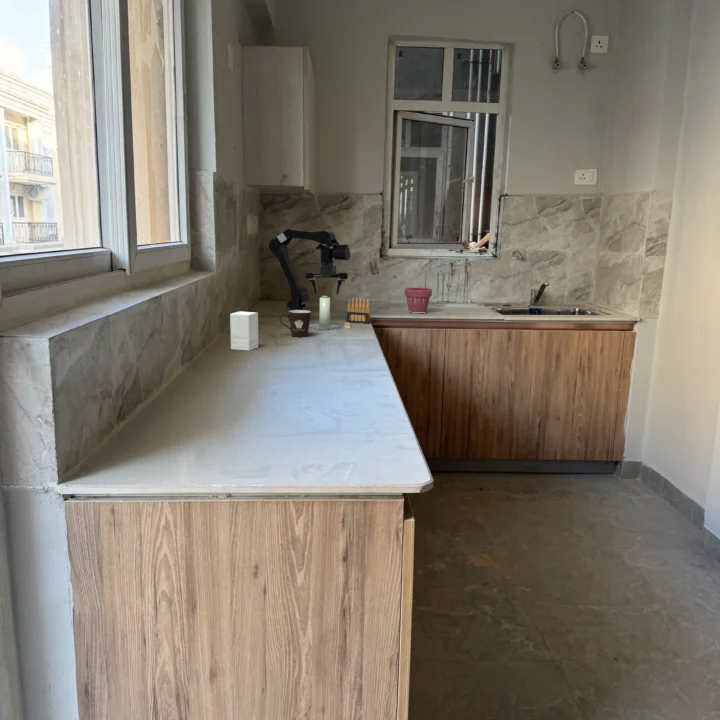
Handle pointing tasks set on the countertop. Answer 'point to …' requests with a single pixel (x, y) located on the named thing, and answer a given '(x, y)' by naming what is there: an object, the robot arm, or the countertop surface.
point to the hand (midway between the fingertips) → (326, 295)
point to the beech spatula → (347, 325)
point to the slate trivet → (332, 326)
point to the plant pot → (418, 298)
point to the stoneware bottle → (324, 311)
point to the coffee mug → (298, 322)
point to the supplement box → (244, 330)
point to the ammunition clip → (358, 311)
